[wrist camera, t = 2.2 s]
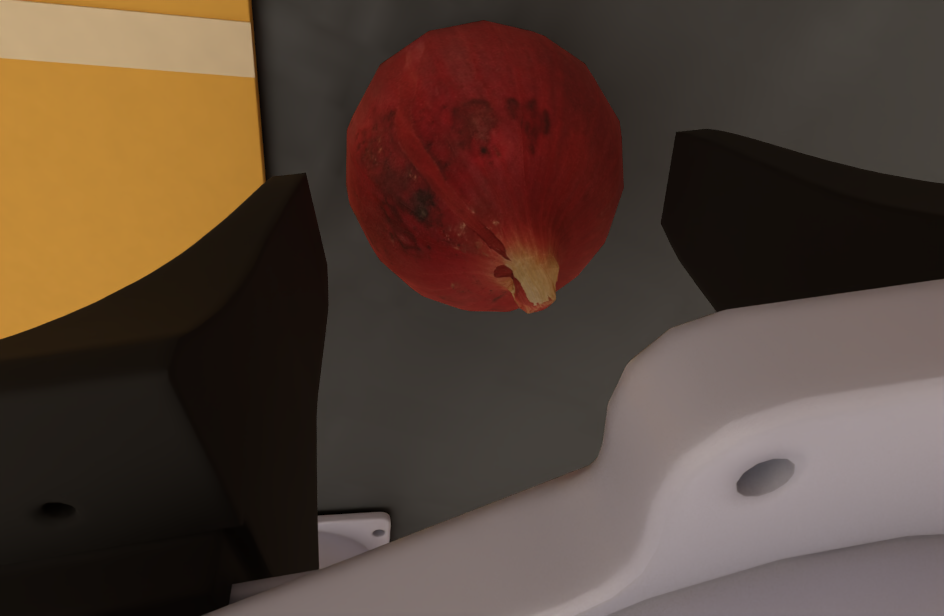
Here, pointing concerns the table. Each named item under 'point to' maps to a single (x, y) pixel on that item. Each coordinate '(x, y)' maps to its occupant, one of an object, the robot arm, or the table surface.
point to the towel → (117, 142)
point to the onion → (485, 166)
